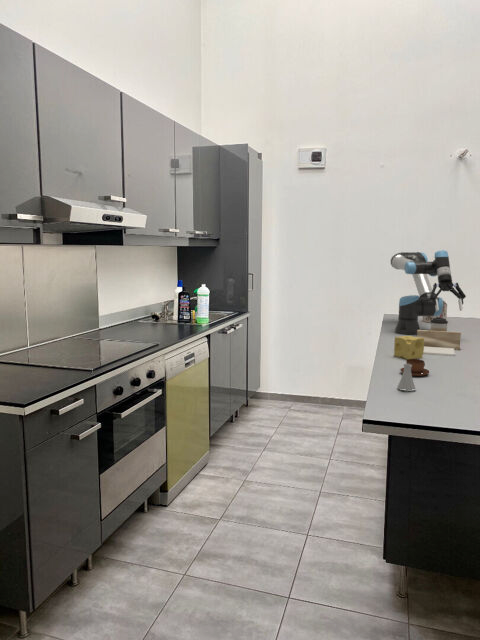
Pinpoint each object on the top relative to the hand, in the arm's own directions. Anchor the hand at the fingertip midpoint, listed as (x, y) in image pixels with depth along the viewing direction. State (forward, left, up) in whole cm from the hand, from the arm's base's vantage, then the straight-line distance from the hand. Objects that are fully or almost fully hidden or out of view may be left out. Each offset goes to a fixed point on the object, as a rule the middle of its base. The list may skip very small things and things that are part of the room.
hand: (449, 310), depth 300 cm
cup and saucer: (+70, -49, -19) cm, 88 cm away
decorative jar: (-71, +25, -18) cm, 77 cm away
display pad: (+26, -18, -18) cm, 37 cm away
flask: (+93, -62, -18) cm, 114 cm away
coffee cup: (+8, -10, -18) cm, 22 cm away
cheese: (+36, -38, -19) cm, 56 cm away
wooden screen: (+16, -13, -18) cm, 28 cm away
